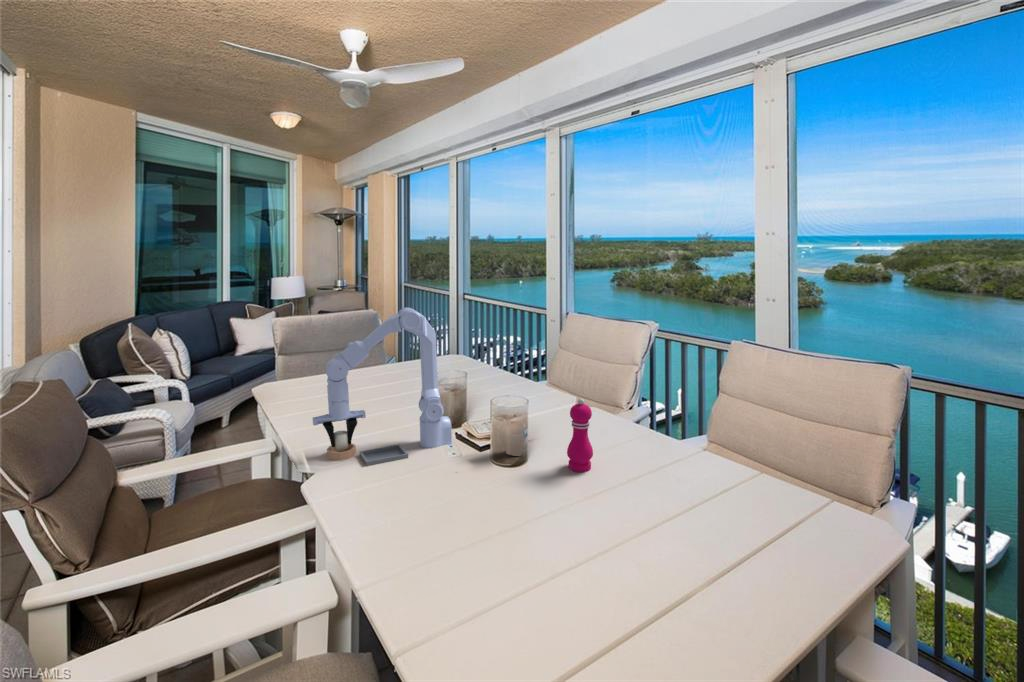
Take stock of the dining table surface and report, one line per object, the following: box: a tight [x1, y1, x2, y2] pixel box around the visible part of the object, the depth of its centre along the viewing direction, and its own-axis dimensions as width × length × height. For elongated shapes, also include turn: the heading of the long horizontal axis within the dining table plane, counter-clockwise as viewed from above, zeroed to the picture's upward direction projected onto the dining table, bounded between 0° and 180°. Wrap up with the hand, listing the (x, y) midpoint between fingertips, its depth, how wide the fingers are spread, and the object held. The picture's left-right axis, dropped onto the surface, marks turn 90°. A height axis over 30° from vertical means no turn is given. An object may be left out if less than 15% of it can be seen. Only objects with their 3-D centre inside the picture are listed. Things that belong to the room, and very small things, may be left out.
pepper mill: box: [566, 398, 594, 473], centre depth 135 cm, size 7×7×20 cm
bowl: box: [326, 442, 357, 461], centre depth 144 cm, size 8×8×3 cm
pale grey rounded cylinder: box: [334, 430, 349, 452], centre depth 143 cm, size 4×4×5 cm
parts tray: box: [358, 443, 409, 467], centre depth 143 cm, size 12×9×2 cm
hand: (341, 444), depth 144 cm, fingers closed on pale grey rounded cylinder, 4 cm apart
